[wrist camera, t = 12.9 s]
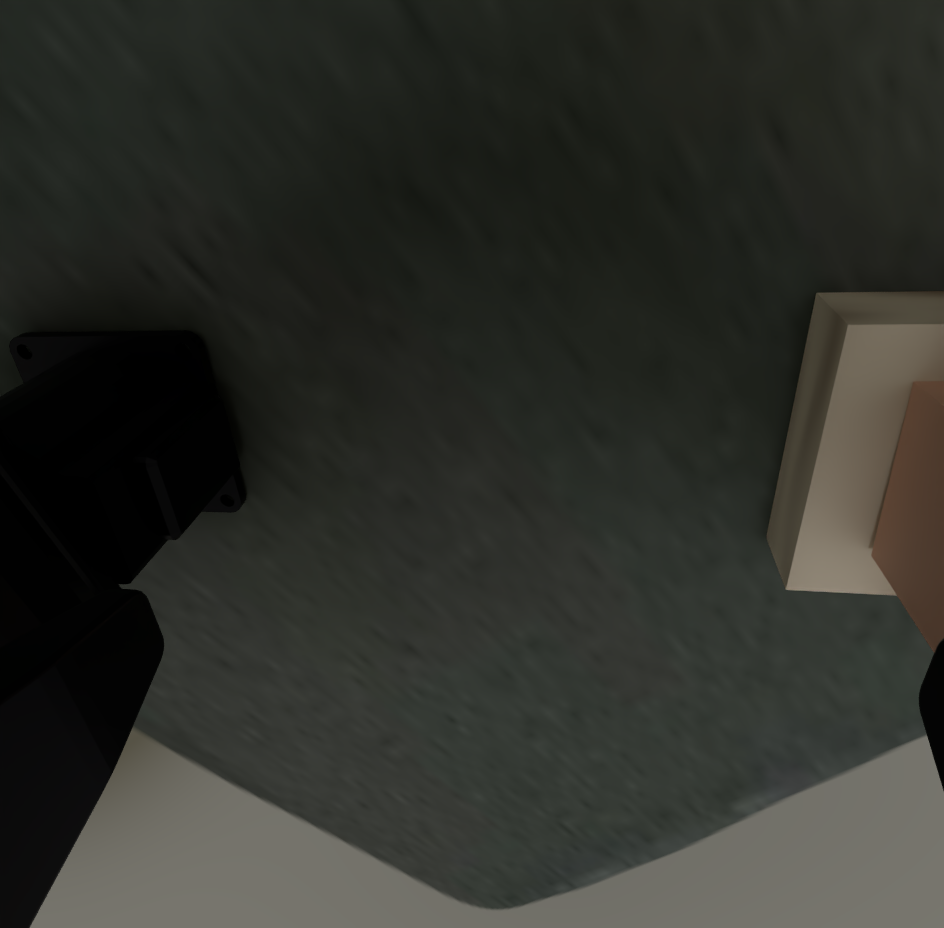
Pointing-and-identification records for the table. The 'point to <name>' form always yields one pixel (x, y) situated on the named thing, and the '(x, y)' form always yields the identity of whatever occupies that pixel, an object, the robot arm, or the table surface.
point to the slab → (849, 434)
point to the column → (917, 513)
